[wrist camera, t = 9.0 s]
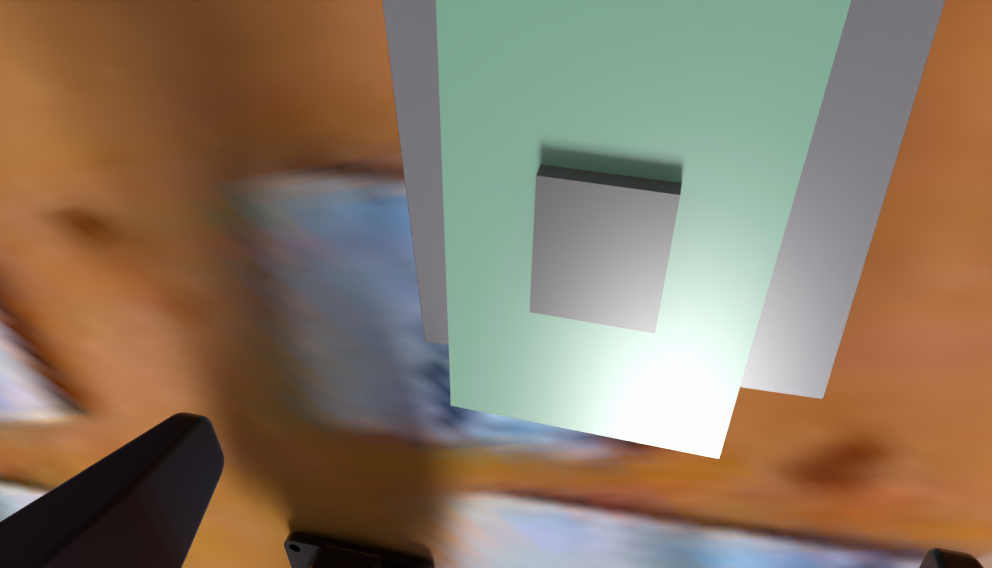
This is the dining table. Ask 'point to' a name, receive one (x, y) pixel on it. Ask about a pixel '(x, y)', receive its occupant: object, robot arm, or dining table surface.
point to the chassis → (817, 203)
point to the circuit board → (620, 201)
